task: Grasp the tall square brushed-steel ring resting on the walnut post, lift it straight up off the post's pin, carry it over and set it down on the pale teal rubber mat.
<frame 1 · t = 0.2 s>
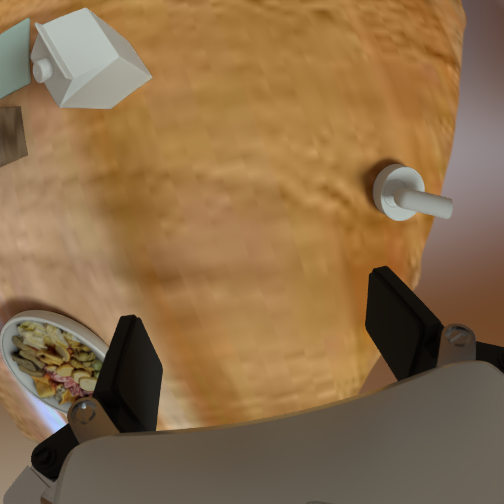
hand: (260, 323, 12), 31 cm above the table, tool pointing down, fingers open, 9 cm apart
bowl: (66, 359, 51), on the table
milk carton: (119, 74, 32), on the table
mat: (4, 63, 26), on the table
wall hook: (398, 190, 43), on the table
post: (6, 138, 32), on the table
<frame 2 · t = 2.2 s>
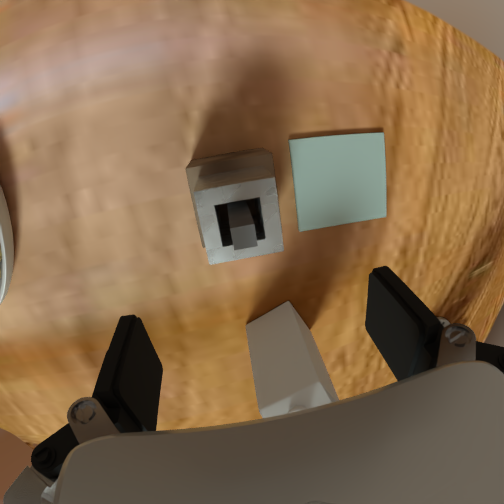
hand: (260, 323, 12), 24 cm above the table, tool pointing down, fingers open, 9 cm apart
milk carton: (278, 327, 43), on the table
mat: (341, 179, 34), on the table
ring: (235, 201, 28), point 6 cm above the table, touching post
post: (232, 188, 33), on the table
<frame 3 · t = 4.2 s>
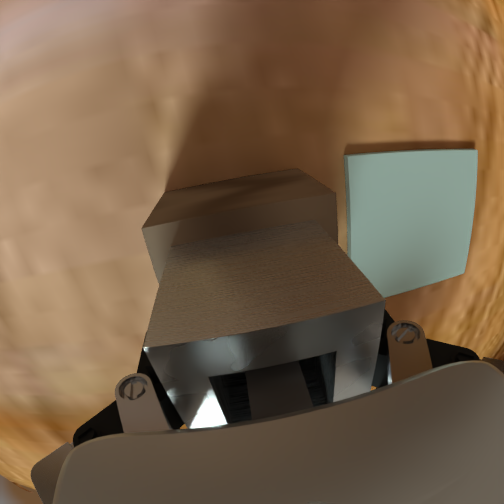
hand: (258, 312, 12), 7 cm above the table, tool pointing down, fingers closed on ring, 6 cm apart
mat: (417, 223, 20), on the table
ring: (253, 294, 13), point 6 cm above the table, touching gripper, post
post: (242, 241, 19), on the table
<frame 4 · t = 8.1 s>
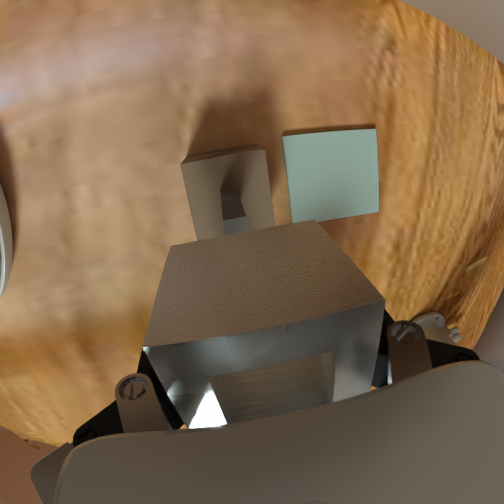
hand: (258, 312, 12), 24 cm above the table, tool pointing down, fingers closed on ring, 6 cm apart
mat: (334, 175, 35), on the table
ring: (253, 294, 13), point 23 cm above the table, touching gripper
post: (227, 183, 34), on the table
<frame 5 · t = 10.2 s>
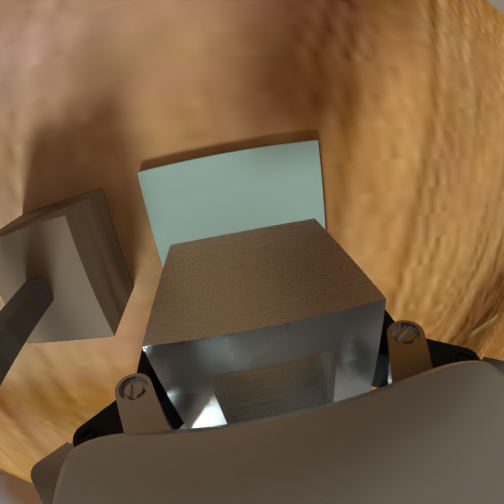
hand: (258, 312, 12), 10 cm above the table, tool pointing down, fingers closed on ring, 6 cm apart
mat: (240, 229, 21), on the table
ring: (253, 293, 13), point 9 cm above the table, touching gripper
post: (74, 250, 20), on the table
when the fingers open (3 cm above the table, at t = 11.9 s): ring drops 1 cm, resting on mat.
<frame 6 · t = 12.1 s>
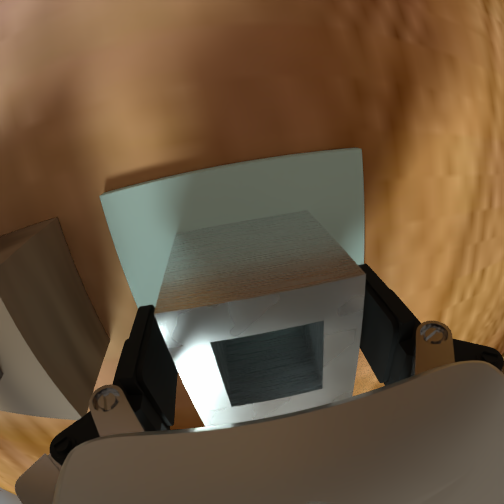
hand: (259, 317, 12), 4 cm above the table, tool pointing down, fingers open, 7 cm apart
mat: (248, 272, 15), on the table
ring: (251, 278, 15), point 1 cm above the table, touching mat
post: (32, 294, 14), on the table
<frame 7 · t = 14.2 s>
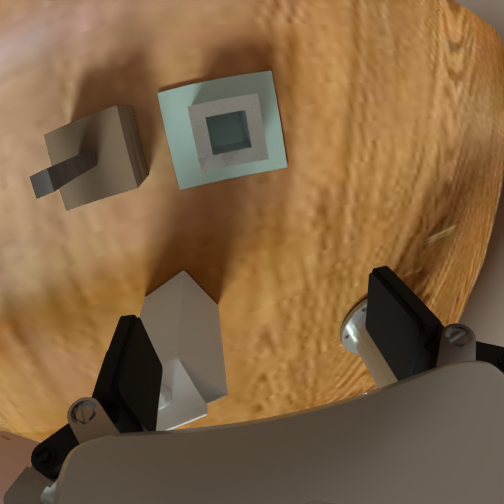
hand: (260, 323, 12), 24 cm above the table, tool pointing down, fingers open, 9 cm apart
milk carton: (181, 300, 39), on the table
mat: (223, 128, 30), on the table
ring: (224, 128, 29), point 1 cm above the table, touching mat
post: (107, 150, 29), on the table
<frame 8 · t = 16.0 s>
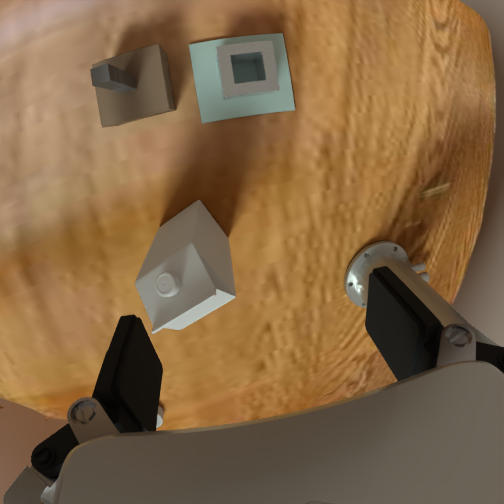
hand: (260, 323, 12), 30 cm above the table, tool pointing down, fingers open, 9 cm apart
milk carton: (193, 232, 42), on the table
mat: (242, 75, 33), on the table
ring: (243, 75, 33), point 1 cm above the table, touching mat
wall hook: (145, 411, 58), on the table
post: (141, 89, 32), on the table
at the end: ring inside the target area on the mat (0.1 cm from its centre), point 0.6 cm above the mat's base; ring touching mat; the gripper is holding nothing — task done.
